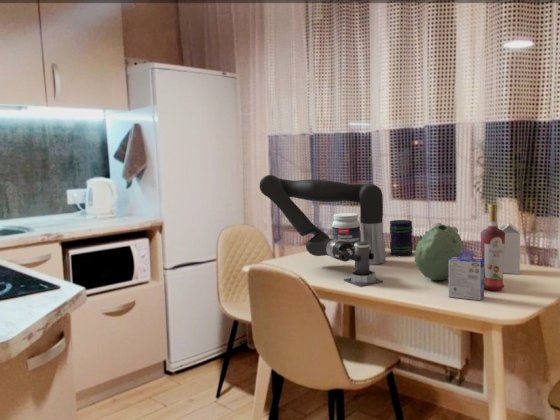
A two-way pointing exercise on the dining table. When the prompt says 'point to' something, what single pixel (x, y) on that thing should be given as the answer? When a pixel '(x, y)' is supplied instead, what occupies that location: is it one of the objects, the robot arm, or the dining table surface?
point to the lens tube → (362, 258)
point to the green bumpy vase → (437, 251)
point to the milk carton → (511, 249)
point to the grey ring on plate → (363, 279)
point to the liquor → (493, 252)
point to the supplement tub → (346, 227)
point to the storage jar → (401, 238)
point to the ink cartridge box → (466, 277)
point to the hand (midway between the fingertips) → (366, 257)
